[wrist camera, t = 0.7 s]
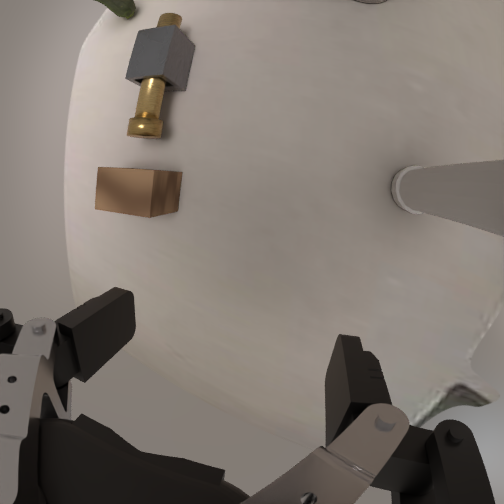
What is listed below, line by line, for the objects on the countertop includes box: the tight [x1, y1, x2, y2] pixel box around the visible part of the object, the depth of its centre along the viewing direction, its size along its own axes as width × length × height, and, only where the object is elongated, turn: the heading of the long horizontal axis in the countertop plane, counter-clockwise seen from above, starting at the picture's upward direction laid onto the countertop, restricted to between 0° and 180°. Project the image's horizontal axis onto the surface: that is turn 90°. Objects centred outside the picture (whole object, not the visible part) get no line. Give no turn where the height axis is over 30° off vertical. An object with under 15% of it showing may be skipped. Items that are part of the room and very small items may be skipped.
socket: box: [95, 167, 182, 218], centre depth 32 cm, size 5×8×7 cm, turn 82°
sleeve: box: [125, 25, 195, 91], centre depth 28 cm, size 7×5×7 cm
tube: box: [127, 13, 182, 139], centre depth 28 cm, size 17×4×4 cm, turn 172°
